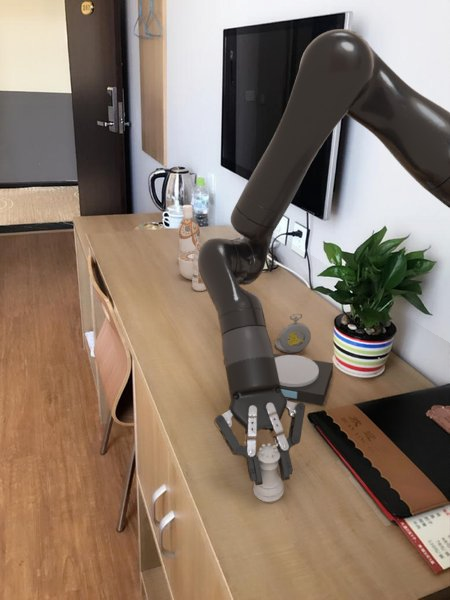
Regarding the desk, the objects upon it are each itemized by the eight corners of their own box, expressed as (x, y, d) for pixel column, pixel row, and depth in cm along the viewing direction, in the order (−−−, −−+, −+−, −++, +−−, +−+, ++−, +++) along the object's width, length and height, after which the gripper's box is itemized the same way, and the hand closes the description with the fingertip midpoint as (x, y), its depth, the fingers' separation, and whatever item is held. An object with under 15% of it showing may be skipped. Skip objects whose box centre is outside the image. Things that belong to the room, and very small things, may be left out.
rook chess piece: (248, 499, 72) (247, 456, 69) (258, 477, 76) (258, 435, 72) (278, 507, 71) (279, 464, 67) (287, 484, 74) (288, 442, 71)
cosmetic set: (219, 292, 137) (216, 225, 129) (185, 295, 136) (180, 228, 127) (204, 260, 159) (201, 201, 151) (175, 263, 158) (170, 204, 150)
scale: (332, 373, 100) (333, 359, 99) (322, 406, 91) (323, 391, 89) (264, 362, 105) (265, 348, 103) (248, 392, 95) (248, 378, 94)
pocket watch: (288, 336, 114) (289, 296, 110) (318, 349, 108) (320, 308, 104) (263, 349, 109) (264, 308, 105) (293, 364, 104) (294, 321, 99)
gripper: (205, 362, 70) (226, 492, 65) (301, 348, 73) (329, 472, 67) (201, 373, 77) (219, 491, 72) (288, 360, 80) (313, 473, 74)
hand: (272, 481), depth 70 cm, fingers closed on rook chess piece, 3 cm apart
